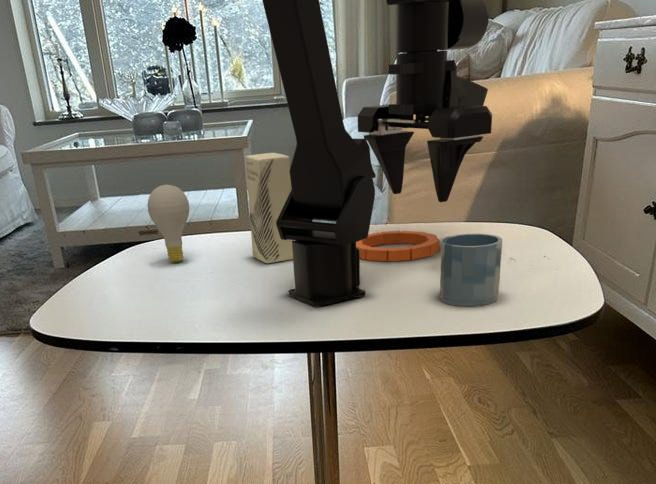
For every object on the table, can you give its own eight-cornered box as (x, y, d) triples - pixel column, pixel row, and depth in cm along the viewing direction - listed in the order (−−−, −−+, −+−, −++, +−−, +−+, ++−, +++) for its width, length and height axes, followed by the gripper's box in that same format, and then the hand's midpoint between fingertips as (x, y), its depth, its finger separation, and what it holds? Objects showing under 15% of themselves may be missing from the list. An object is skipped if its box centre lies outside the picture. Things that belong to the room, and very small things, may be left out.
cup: (465, 310, 76) (468, 249, 73) (428, 297, 80) (429, 240, 77) (510, 298, 78) (515, 239, 75) (471, 286, 83) (474, 231, 80)
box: (252, 257, 102) (242, 155, 95) (281, 252, 103) (274, 151, 97) (267, 265, 97) (258, 158, 91) (297, 259, 99) (291, 154, 92)
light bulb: (148, 264, 102) (135, 187, 97) (178, 256, 105) (167, 180, 100) (174, 269, 99) (162, 189, 94) (204, 260, 102) (194, 182, 97)
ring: (384, 266, 93) (384, 254, 92) (335, 251, 102) (335, 240, 101) (456, 250, 97) (456, 239, 97) (403, 237, 106) (403, 227, 106)
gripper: (535, 44, 80) (522, 196, 88) (427, 51, 95) (424, 182, 102) (453, 50, 76) (448, 210, 84) (353, 56, 90) (356, 193, 98)
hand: (419, 197), depth 92 cm, fingers open, 9 cm apart
